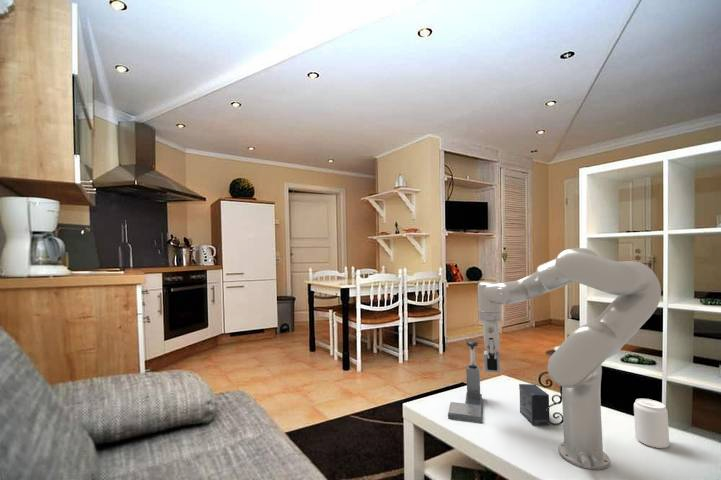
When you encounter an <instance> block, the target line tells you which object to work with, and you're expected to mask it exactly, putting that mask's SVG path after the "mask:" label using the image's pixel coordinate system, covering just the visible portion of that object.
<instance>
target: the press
mask: <svg viewBox="0 0 721 480" xmlns="http://www.w3.org/2000/svg"><path fill="white" fill-rule="evenodd" d="M480 371H481V370H480V365H476V364H475V368H471V364H466V394H465V401H464V402H465V403H462V402H455V401H450V403H449V409H448V413H447V419H448V420H456V421H463V422H464V421H465V422H471V423H477V424H478V423H479V424H482V423H483V422H482V421H483V420H482V418H483V417H482V416H483V414H482V413H483V412H482V411H483V410H482V409H483V405H482V403H483V396H482V395H483V394H482V393H481V376H480V375H481V374H480V373H481V372H480Z"/></svg>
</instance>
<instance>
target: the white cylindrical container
mask: <svg viewBox="0 0 721 480" xmlns="http://www.w3.org/2000/svg"><path fill="white" fill-rule="evenodd" d="M668 412H669V411H668V409H667V408H666V405H665V404H664V403H662V402H660V401H657V400H653V399H650V398H636V399H635V401H634V403H633V414H634V419H633V420H634V432H635V433H634V434H635V435H634V436H635V438H636V440H638V441H639V442H640V443H642V444H643V443H644V445H645V444H646V446H648V447H651V446H652V448H655V447H656V449H663V448H668V447H669V446H670V434H669V433H670V431H669V414H668Z"/></svg>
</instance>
